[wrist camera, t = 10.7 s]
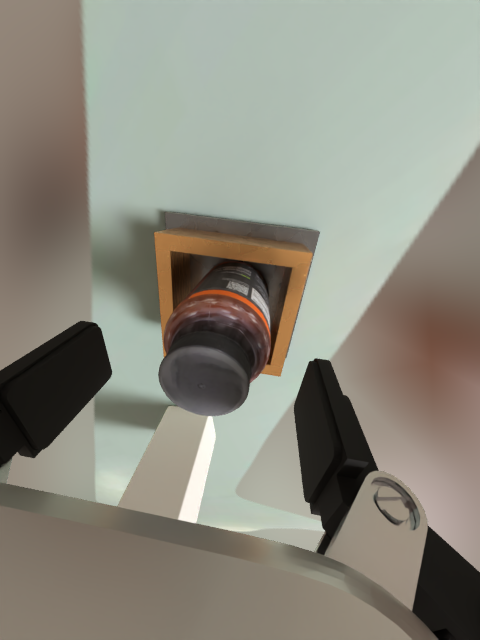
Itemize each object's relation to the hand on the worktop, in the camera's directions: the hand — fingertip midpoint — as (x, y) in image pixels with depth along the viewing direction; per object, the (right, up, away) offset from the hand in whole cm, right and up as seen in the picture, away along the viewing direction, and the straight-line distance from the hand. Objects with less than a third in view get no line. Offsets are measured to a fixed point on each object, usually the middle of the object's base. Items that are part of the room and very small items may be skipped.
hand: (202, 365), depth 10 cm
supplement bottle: (+1, +5, +10) cm, 11 cm away
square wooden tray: (+1, +5, +10) cm, 11 cm away
